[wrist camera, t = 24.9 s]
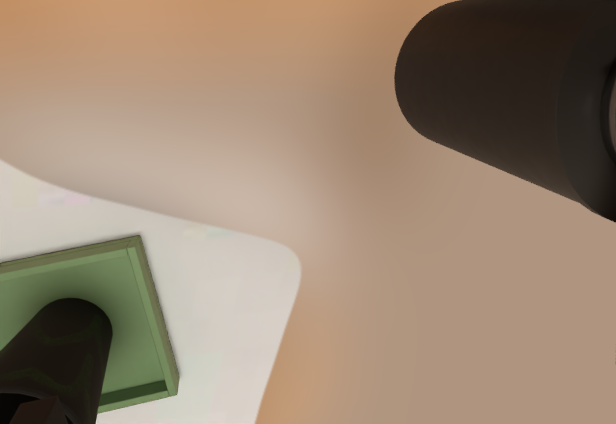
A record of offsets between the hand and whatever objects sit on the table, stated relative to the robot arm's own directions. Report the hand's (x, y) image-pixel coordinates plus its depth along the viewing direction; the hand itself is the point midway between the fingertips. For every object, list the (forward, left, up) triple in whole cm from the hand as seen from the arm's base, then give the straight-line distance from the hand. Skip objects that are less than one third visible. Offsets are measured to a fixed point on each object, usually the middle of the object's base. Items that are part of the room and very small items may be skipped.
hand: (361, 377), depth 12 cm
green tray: (+16, +10, -27) cm, 33 cm away
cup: (+16, +10, -26) cm, 32 cm away
